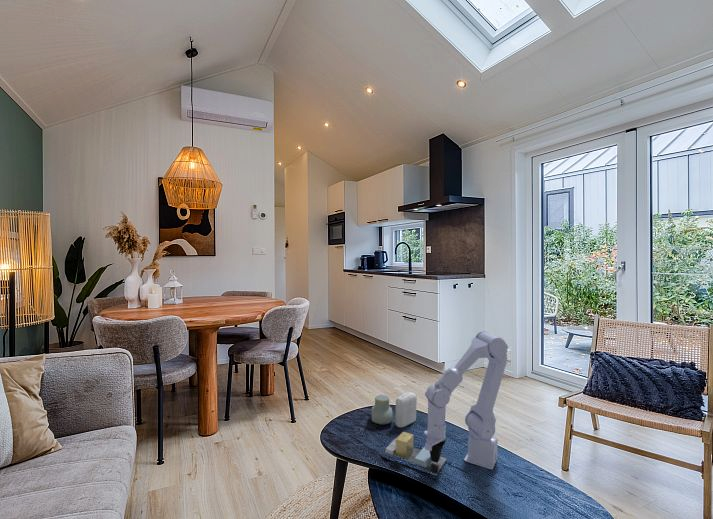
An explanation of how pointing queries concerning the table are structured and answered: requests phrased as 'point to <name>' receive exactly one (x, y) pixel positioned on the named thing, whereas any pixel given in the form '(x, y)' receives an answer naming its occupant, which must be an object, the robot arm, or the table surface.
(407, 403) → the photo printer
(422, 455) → the block
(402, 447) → the brass block
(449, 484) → the table surface
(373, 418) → the air freshener
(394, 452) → the vise
